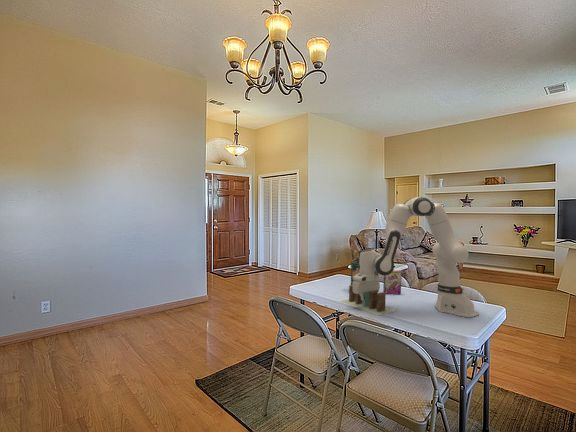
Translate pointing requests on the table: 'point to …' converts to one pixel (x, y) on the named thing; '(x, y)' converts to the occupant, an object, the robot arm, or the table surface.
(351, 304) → the felt mat
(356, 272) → the donation box
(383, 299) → the tile
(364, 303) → the teal tile
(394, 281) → the candy bar box
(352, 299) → the tile
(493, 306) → the table surface
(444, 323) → the table surface
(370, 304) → the tile
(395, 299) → the table surface
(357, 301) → the tile
